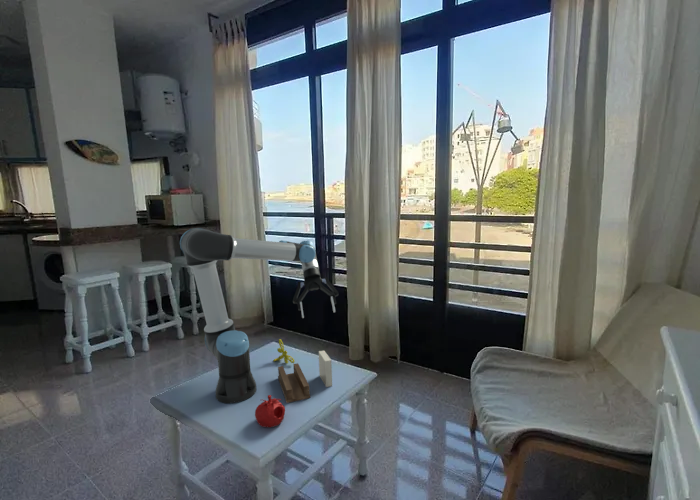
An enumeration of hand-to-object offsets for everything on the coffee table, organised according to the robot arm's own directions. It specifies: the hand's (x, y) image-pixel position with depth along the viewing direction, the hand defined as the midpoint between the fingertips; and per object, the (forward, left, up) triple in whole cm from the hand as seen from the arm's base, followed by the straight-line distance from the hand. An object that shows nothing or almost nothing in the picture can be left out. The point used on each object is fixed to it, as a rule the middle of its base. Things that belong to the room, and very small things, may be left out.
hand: (318, 314), depth 149 cm
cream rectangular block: (-1, -9, -26) cm, 27 cm away
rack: (-14, -9, -26) cm, 31 cm away
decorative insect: (-14, +14, -26) cm, 32 cm away
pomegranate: (-26, -28, -26) cm, 46 cm away
